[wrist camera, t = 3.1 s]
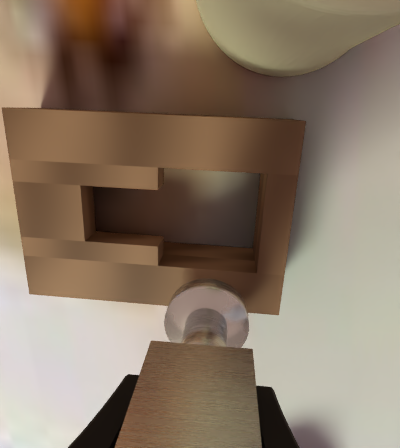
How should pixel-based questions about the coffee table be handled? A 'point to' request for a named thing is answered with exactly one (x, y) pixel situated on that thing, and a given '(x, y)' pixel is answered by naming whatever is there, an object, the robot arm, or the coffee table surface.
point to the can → (294, 30)
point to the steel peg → (197, 376)
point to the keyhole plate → (152, 180)
